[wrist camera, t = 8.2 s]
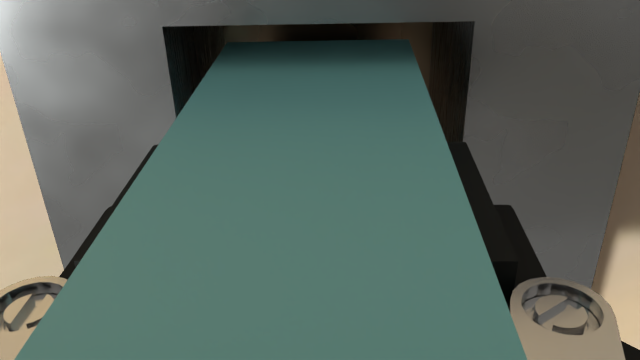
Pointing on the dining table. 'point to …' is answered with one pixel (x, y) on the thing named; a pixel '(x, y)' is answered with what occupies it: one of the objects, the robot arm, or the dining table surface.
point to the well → (326, 25)
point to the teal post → (290, 225)
